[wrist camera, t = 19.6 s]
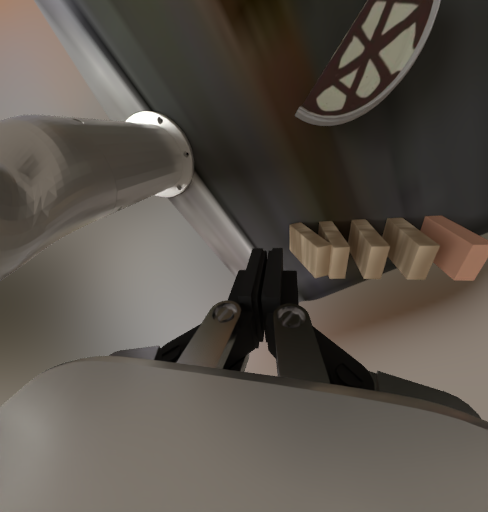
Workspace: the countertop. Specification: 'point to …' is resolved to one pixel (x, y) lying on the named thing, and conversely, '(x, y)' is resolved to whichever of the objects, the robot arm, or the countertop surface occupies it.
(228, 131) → the countertop surface
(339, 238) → the domino
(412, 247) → the domino
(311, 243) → the domino
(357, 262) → the domino
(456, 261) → the domino
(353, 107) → the food container
